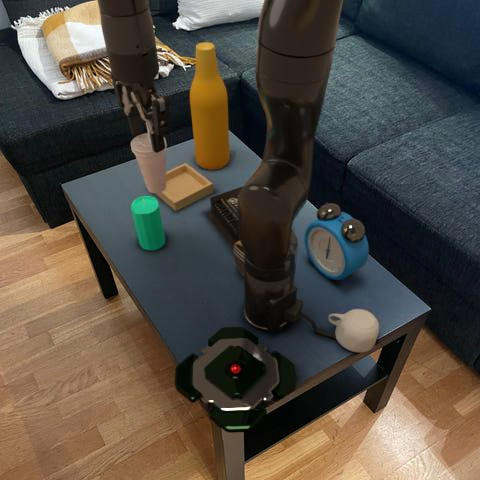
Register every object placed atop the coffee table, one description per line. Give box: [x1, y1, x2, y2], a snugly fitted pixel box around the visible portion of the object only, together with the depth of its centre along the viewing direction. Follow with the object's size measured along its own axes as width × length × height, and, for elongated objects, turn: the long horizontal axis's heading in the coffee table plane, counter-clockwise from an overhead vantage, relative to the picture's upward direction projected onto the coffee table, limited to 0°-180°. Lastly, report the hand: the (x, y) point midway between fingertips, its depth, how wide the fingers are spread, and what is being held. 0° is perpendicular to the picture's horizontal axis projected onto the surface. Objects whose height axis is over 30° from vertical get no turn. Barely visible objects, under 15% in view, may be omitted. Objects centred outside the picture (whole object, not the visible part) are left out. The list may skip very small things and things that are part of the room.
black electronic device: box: [204, 185, 244, 250], centre depth 105 cm, size 20×14×17 cm
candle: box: [130, 195, 166, 251], centre depth 104 cm, size 6×6×12 cm
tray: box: [154, 162, 214, 212], centre depth 119 cm, size 12×12×3 cm
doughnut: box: [232, 241, 244, 278], centre depth 98 cm, size 9×4×10 cm, turn 32°
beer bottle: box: [189, 41, 231, 171], centre depth 117 cm, size 9×9×29 cm
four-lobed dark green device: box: [174, 326, 297, 434], centre depth 84 cm, size 18×18×5 cm
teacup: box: [327, 308, 380, 354], centre depth 89 cm, size 10×8×5 cm
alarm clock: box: [304, 202, 370, 283], centre depth 97 cm, size 13×6×15 cm, turn 37°
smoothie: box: [130, 122, 168, 194], centre depth 87 cm, size 6×6×14 cm
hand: (148, 141), depth 84 cm, fingers closed on smoothie, 6 cm apart
